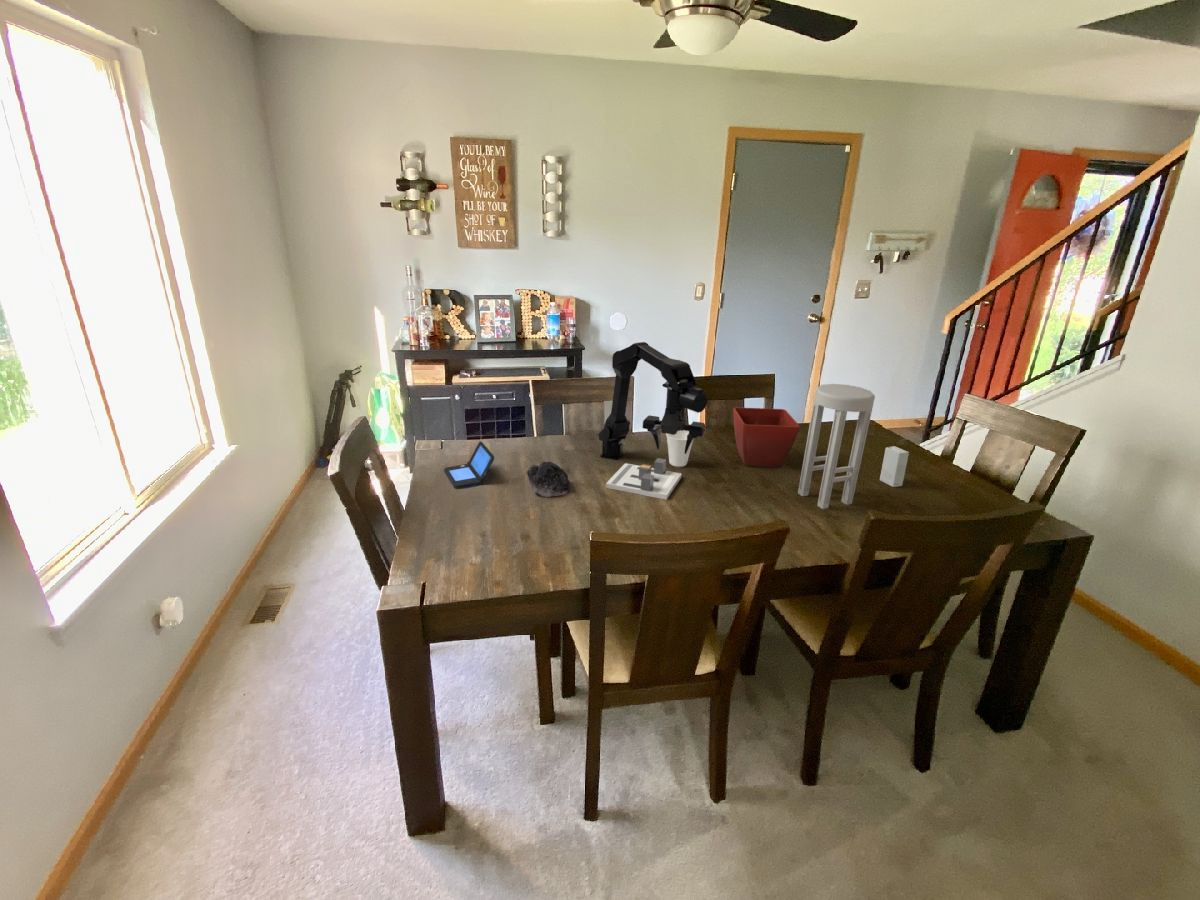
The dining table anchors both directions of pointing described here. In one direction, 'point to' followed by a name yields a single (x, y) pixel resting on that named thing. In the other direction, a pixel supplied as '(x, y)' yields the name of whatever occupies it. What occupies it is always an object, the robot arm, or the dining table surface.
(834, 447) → the stool
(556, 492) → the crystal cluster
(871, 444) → the dining table surface
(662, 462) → the block
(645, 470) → the block
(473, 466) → the handheld game console
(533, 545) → the dining table surface
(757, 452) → the plant pot
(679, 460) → the cup
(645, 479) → the block
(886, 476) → the skincare box
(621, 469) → the panel
